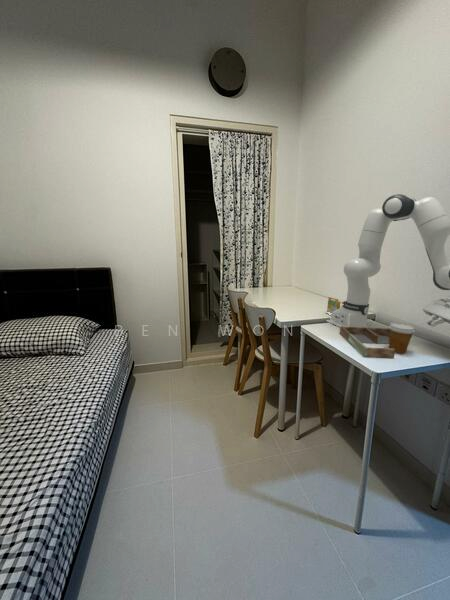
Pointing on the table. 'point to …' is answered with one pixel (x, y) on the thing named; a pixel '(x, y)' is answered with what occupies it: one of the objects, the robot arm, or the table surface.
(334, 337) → the table surface
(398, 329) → the disposable coffee cup
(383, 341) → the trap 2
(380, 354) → the walnut corridor
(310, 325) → the table surface
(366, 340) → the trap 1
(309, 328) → the table surface
